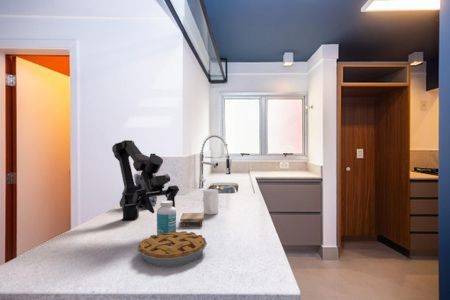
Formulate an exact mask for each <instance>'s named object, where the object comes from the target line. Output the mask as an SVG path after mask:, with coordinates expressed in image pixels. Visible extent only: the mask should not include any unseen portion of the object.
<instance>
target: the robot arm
mask: <svg viewBox="0 0 450 300" xmlns="http://www.w3.org/2000/svg"><path fill="white" fill-rule="evenodd" d="M111 148H112V149H111V151H112V153H113V155H114V157H115V159H117V160H118V163H119V167H120V172H121V177H122V182H123V187H124V188H123V191H122V193H121V198H120V200H119V207H120V208H122V219H121V221H136V220H137V219H138V218H139V217H140V209H139V208H138V207H139V206H138V205H141V207H142V208H143V207H145V208H146V210H147V211H149V212H150V213H151V214H155V208H154V206H152V204H151V202H150V200H149V197H156V196H157V197H160V196H161V197H162V196H165V198H166V201H172V202H173V205H172V207H175V208H176V201H175V199H176V195H177V194H178V193H179V191H180V187H179V186H178V185H177V184H176V185H175V184H174V185H169V186H168V187H167V188H166V189H165V184H168V183H169V182H170V181H171V176H170V175H169V173H167V174H166V173H165V174H163V175H156V174H157V173H159V171H160V169H161V167H162V165H163V163H164V159H163V158H162V157H161V156H160V155H157V154H156V153H150V154H149V156H148V155H147V154H144V153H142V152H141V151H140V149H139V148H138V147H137V146H136V144H135V141H134V140H132V139H131V140H127V139H126V140H125V139H124V140H122V141H119V142H116V143H114V144H113V145H112V147H111ZM130 158H131V160H132V161H133V162H132V165H133V168H134V170H135V171H136V172H141V173H140V175H141V176H140V180H143V182H144V184H145V187H144V188H145V189H142V190H140V188H139V186H136V184H135V180H134V174H133V172H132V166H131V162H130ZM146 189H147V190H146ZM147 191H148V192H147ZM145 208H144V209H145Z"/></svg>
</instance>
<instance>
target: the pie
mask: <svg viewBox="0 0 450 300" xmlns="http://www.w3.org/2000/svg"><path fill="white" fill-rule="evenodd" d="M207 245H208V243H207V241H206V237H203V235H202V234H196V233H195V232H192V231H190V232H187V231H185V230H183V231H177V230H176V231H171V232H170V233H160V234H159V235H157V234H152V235H150V237H148V238H144V239H142V240H141V242H139V244H138V245H137V252H138V253H139V254H140V255H141V258H142V259H143V260H144V261H145V262H147V263H148V264H150V265H154V266H157V267H163V266H164V268H173V267H178V266H182V265H186V264H189V263H191V262H194V261H195V260H196V259H198V258H200V257H201V255H202V254H203V251H204V250H205V249H206V247H207Z"/></svg>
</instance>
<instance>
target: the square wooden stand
mask: <svg viewBox="0 0 450 300" xmlns="http://www.w3.org/2000/svg"><path fill="white" fill-rule="evenodd" d="M204 217H205V214H204V213H203V212H182V215H181V216H180V218H179V221H180V222H181V227H186V223H188V222H190V223H191V222H198V226H199V227H202V226H203V222H204V219H205V218H204Z"/></svg>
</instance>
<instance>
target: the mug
mask: <svg viewBox="0 0 450 300" xmlns="http://www.w3.org/2000/svg"><path fill="white" fill-rule="evenodd" d="M202 193H203V195H202V203H203V204H202V207H203V209H202V210H203V211H202V213H204V215H216V214H219V189H217V188H205V189H203V190H202Z"/></svg>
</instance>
